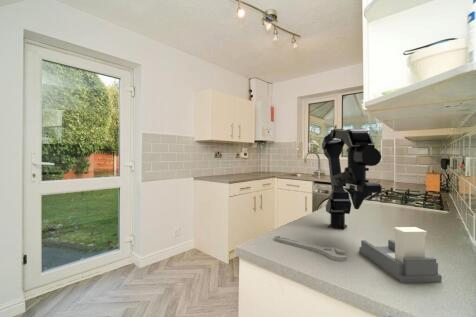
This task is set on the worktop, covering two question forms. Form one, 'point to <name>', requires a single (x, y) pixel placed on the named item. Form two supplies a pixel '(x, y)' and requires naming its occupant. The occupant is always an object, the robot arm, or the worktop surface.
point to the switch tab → (409, 243)
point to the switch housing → (405, 272)
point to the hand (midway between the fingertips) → (356, 209)
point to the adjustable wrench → (316, 248)
